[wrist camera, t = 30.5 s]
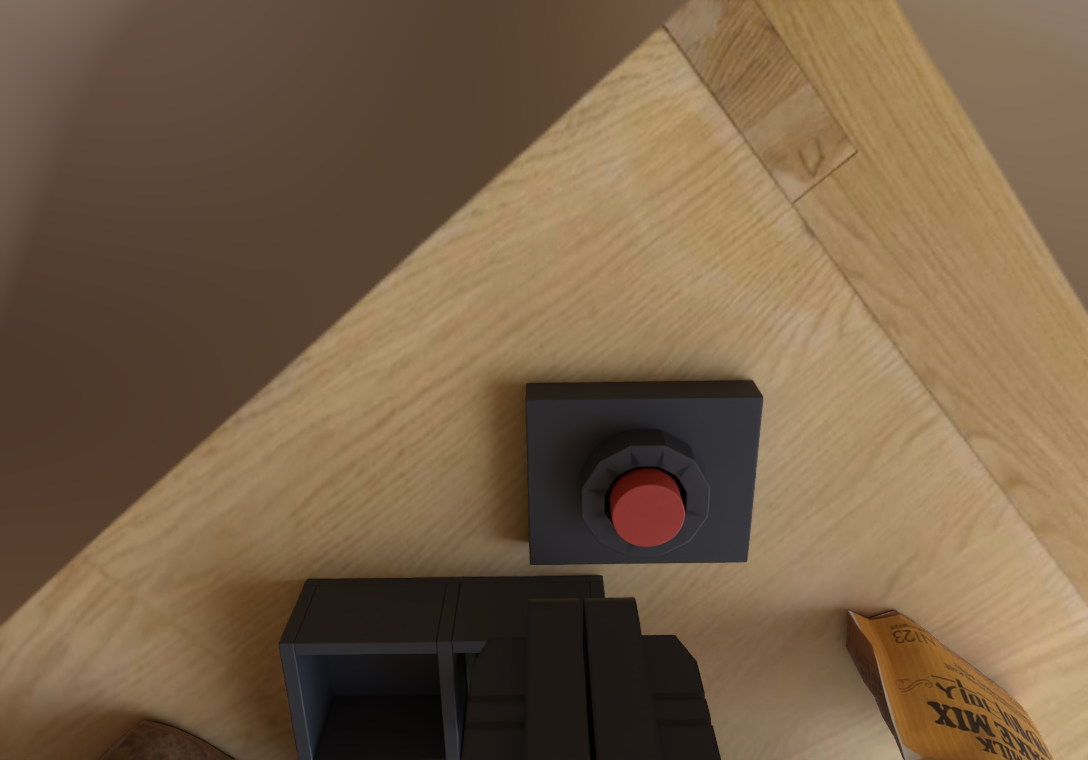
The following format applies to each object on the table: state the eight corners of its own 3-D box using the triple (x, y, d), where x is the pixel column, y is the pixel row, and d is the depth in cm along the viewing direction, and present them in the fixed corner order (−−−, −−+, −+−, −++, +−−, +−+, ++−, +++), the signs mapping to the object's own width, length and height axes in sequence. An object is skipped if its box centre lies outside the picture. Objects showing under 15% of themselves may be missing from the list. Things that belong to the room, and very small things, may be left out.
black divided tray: (338, 794, 55) (317, 873, 50) (306, 578, 48) (277, 643, 43) (599, 791, 55) (605, 870, 50) (602, 575, 48) (609, 639, 43)
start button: (608, 528, 43) (611, 548, 41) (609, 467, 41) (612, 485, 40) (677, 527, 43) (683, 547, 41) (681, 466, 41) (687, 484, 40)
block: (530, 542, 47) (529, 585, 44) (526, 382, 44) (524, 415, 40) (738, 540, 47) (755, 582, 44) (753, 379, 43) (773, 411, 40)
